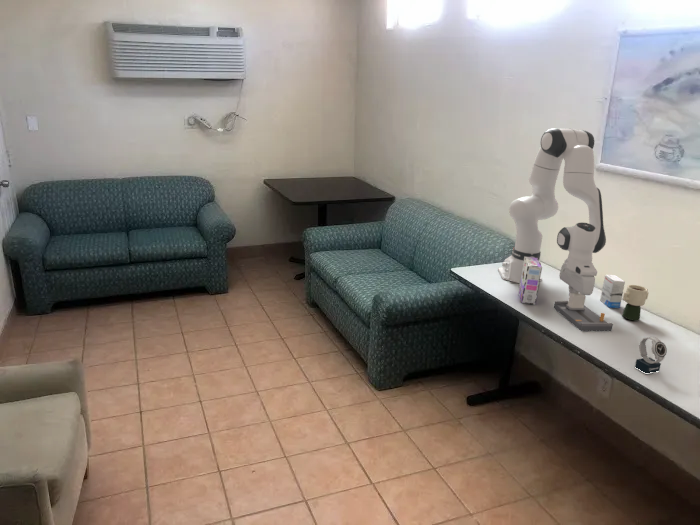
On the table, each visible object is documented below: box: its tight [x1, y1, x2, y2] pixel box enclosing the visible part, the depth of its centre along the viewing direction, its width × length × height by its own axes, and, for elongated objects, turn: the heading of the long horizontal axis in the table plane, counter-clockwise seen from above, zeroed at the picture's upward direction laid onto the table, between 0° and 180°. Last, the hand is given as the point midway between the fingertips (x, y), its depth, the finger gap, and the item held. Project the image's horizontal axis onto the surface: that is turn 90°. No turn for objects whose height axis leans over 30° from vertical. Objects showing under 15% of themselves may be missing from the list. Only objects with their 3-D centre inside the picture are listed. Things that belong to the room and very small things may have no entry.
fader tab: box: [566, 293, 587, 310], centre depth 216 cm, size 4×6×6 cm, turn 96°
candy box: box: [518, 257, 543, 306], centre depth 228 cm, size 14×6×16 cm, turn 168°
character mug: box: [622, 284, 649, 322], centre depth 214 cm, size 11×7×13 cm, turn 104°
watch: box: [634, 336, 668, 373], centre depth 173 cm, size 6×8×11 cm
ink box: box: [599, 274, 626, 309], centre depth 228 cm, size 9×5×12 cm, turn 0°
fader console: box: [553, 300, 614, 332], centre depth 212 cm, size 22×12×5 cm, turn 6°
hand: (572, 297), depth 220 cm, fingers closed
